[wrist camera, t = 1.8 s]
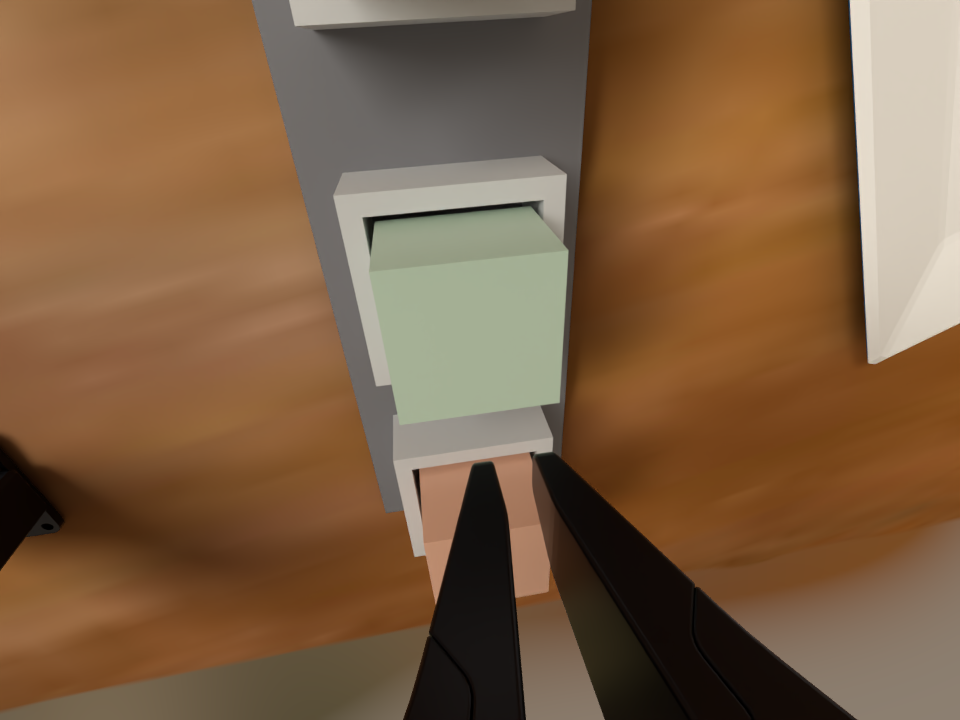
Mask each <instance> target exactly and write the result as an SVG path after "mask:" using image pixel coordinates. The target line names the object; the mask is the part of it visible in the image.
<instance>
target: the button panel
mask: <svg viewBox="0 0 960 720" xmlns="http://www.w3.org/2000/svg"><path fill="white" fill-rule="evenodd" d="M252 3H253V7H254V11H255V15H256V19H257V22H258V26H259V30H260V34H261V38H262V41H263V45H264V49H265V53H266V57H267V61H268V64H269V68H270V72H271V76H272V80H273V83H274V87H275V91H276V95H277V99H278V103H279V106H280V110H281V114H282V118H283V122H284V125H285V129H286V133H287V137H288V141H289V145H290V148H291V152H292V156H293V160H294V164H295V167H296V171H297V175H298V179H299V183H300V187H301V190H302V194H303V198H304V202H305V206H306V209H307V213H308V217H309V221H310V225H311V229H312V232H313V236H314V240H315V244H316V248H317V251H318V255H319V259H320V263H321V267H322V271H323V274H324V278H325V282H326V286H327V290H328V293H329V297H330V301H331V305H332V309H333V313H334V316H335V320H336V324H337V328H338V332H339V335H340V339H341V343H342V347H343V351H344V355H345V358H346V362H347V366H348V370H349V374H350V377H351V381H352V385H353V389H354V393H355V397H356V400H357V404H358V408H359V412H360V416H361V419H362V423H363V427H364V431H365V435H366V439H367V442H368V446H369V450H370V454H371V458H372V461H373V465H374V469H375V473H376V477H377V481H378V484H379V488H380V492H381V496H382V500H383V503H384V507H385V511H386V513H390V512H396V511H403V510H404V512H405V516H406V521H407V525H408V530H409V534H410V538H411V543H412V547H413V552H414V556H415V557H417V556H423V555H426V553H425V548H424V542H423V525H422V508H421V491H420V473H419V469H420V468H427V467H434V466H440V465H447V464H454V463H460V462H467V461H474V460H480V459H487V458H494V457H500V456H507V455H514V454H520V453H527V452H529V453H530V456H531V459H533V456H534V455H535V454H539V453H545V452H554V453H556V454H557V455H558V456H559V457H560V458H561V451H562V436H563V422H564V407H565V392H566V377H567V363H568V348H569V333H570V318H571V303H572V289H573V274H574V259H575V244H576V229H577V215H578V200H579V185H580V170H581V156H582V141H583V126H584V111H585V96H586V82H587V67H588V52H589V37H590V23H591V8H592V0H252ZM526 206H531V207H532V208H533V210H534V211H535V212H536V213H537V214H538V215H539V217H540V218H541V219H542V220H543V221H544V222H545V224H546V225H547V226H548V227H549V228H550V229H551V231H552V232H553V233H554V234H555V235H556V236H557V237H558V239H559V240H560V241H561V242H562V243H563V244H564V246H565V247H566V248H567V249H568V250H569V251H568V268H567V285H566V302H565V319H564V336H563V352H562V369H561V386H560V403H554V404H547V405H540V406H533V407H526V408H519V409H511V410H504V411H497V412H490V413H483V414H476V415H469V416H462V417H455V418H447V419H440V420H433V421H426V422H419V423H412V424H405V425H400V424H399V419H398V414H397V409H396V404H395V399H394V394H393V389H392V384H391V379H390V374H389V369H388V364H387V359H386V354H385V349H384V345H383V340H382V335H381V330H380V325H379V320H378V315H377V310H376V305H375V300H374V295H373V290H372V285H371V280H370V275H369V267H370V258H371V249H372V241H373V232H374V223H375V221H383V220H393V219H404V218H414V217H424V216H434V215H444V214H455V213H465V212H475V211H485V210H495V209H506V208H516V207H526Z"/></svg>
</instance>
